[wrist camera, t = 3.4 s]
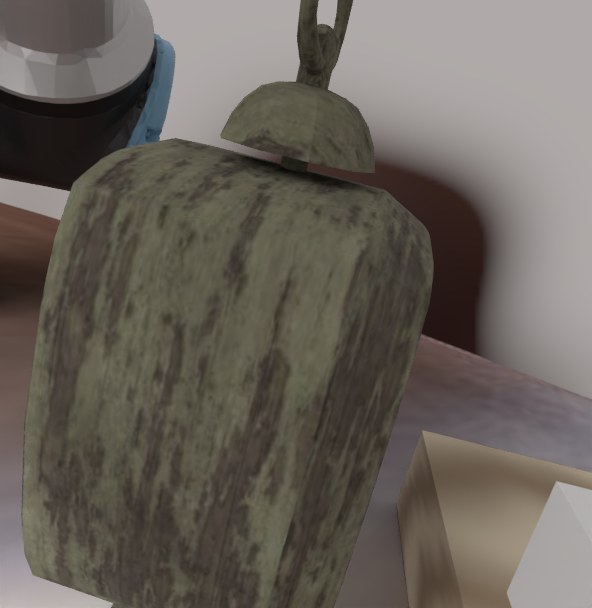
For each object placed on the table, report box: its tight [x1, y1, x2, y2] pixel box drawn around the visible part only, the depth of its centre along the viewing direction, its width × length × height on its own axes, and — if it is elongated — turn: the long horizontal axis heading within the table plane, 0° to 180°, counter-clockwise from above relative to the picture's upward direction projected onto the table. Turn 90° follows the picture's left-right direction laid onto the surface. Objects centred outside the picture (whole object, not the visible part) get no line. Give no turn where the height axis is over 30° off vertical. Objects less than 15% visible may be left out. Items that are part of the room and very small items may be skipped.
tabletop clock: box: [22, 0, 433, 608], centre depth 20 cm, size 14×9×25 cm, turn 169°
